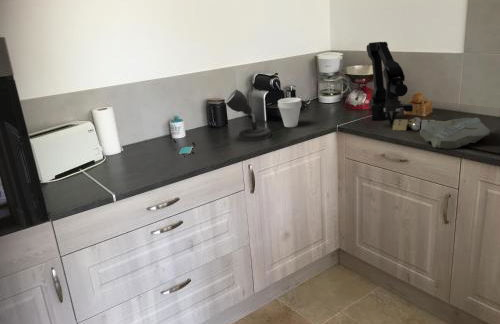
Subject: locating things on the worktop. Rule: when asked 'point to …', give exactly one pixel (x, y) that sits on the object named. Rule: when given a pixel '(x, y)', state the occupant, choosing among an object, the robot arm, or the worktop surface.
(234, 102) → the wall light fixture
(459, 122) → the stone
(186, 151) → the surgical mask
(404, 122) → the olive box with knob
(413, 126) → the fixed leaf
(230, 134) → the worktop surface
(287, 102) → the cup
